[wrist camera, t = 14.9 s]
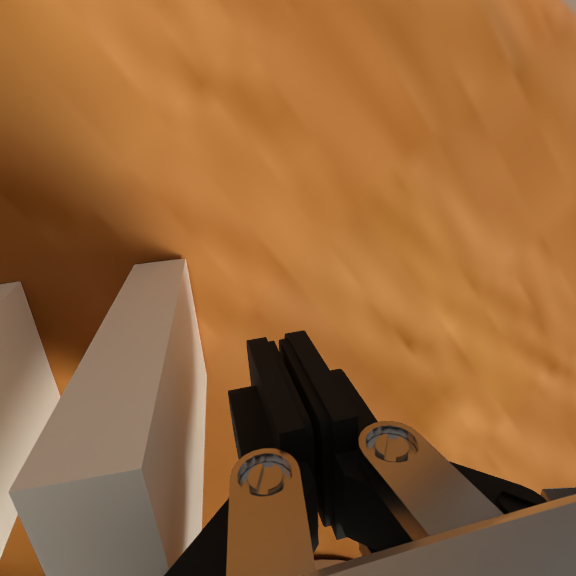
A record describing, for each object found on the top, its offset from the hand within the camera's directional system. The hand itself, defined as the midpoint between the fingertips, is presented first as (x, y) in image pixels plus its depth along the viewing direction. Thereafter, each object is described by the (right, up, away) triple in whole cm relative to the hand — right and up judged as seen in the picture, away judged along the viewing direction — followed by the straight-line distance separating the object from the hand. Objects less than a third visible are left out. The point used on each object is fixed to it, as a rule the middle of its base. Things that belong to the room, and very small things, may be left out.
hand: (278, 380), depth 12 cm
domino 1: (-4, +1, +4) cm, 6 cm away
